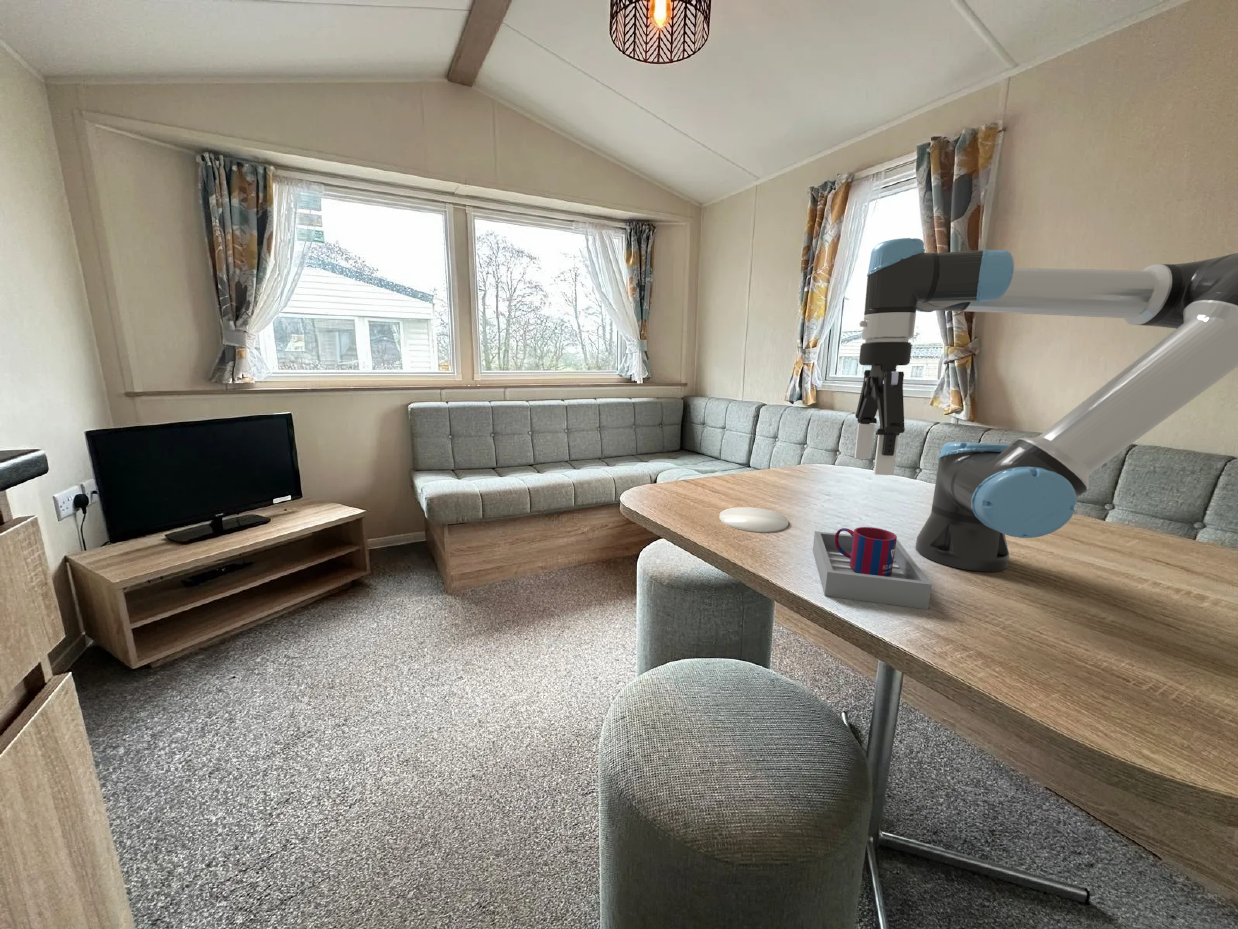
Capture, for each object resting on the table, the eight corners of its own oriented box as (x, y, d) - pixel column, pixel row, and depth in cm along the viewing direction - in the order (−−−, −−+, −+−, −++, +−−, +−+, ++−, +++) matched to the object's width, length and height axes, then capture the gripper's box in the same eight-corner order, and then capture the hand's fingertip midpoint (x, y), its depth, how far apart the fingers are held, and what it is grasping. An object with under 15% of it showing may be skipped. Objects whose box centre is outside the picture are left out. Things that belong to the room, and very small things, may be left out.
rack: (894, 559, 94) (897, 539, 93) (927, 609, 75) (931, 584, 75) (812, 550, 98) (814, 531, 97) (824, 595, 80) (827, 571, 79)
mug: (880, 581, 82) (885, 543, 80) (825, 561, 89) (829, 526, 88) (898, 571, 86) (904, 535, 84) (844, 553, 93) (848, 519, 92)
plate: (786, 515, 122) (786, 510, 122) (789, 536, 107) (790, 531, 107) (721, 509, 126) (722, 504, 126) (716, 529, 111) (716, 524, 111)
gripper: (845, 343, 93) (835, 452, 97) (882, 338, 69) (867, 481, 74) (888, 343, 91) (876, 453, 96) (941, 337, 68) (921, 484, 72)
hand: (872, 466), depth 85 cm, fingers open, 13 cm apart
